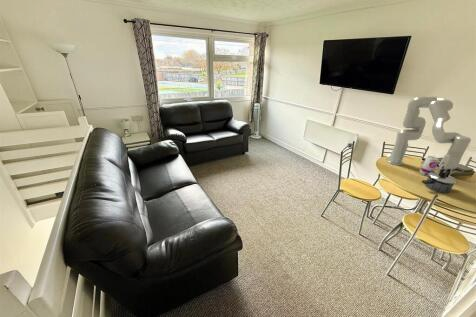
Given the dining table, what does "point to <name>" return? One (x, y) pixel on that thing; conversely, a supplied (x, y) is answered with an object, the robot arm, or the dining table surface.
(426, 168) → the supplement can
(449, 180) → the lid
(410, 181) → the dining table surface
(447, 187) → the pot
